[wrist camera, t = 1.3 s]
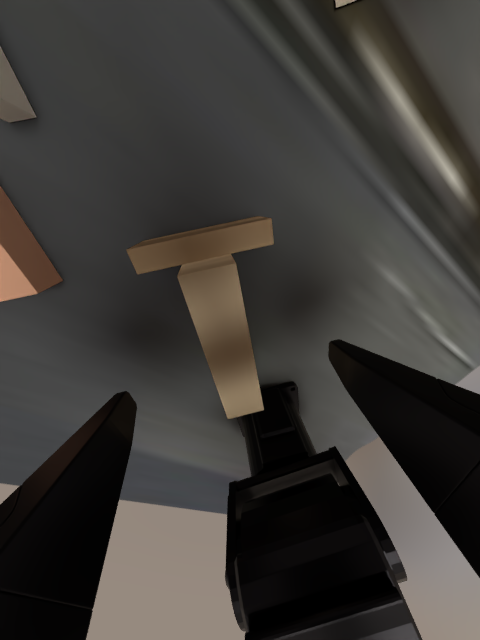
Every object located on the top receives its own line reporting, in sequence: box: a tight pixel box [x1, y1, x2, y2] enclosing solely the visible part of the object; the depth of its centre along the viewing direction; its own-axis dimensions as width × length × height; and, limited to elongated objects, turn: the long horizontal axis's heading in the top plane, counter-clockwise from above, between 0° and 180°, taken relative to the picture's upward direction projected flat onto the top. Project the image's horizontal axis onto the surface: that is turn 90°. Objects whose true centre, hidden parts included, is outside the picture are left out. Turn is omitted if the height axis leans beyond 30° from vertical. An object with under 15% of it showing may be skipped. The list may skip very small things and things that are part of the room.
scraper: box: [127, 216, 274, 419], centre depth 13 cm, size 11×7×5 cm, turn 10°
